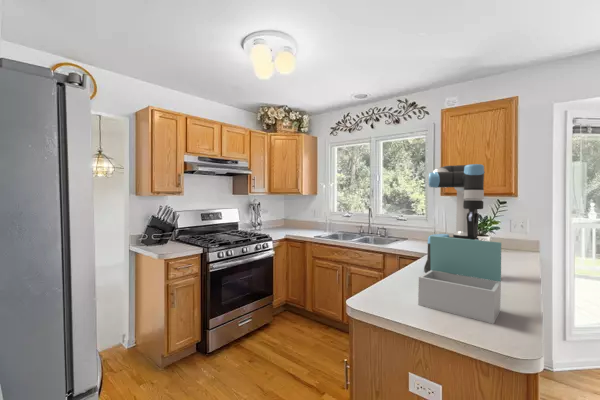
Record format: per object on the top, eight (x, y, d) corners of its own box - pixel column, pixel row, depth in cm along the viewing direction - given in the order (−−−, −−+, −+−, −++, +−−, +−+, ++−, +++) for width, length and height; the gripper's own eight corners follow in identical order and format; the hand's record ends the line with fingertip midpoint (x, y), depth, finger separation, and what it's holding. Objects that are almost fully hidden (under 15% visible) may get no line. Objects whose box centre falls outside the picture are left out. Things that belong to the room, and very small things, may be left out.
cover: (430, 269, 135) (432, 268, 137) (500, 281, 118) (501, 280, 119) (430, 236, 134) (431, 235, 135) (501, 243, 116) (501, 241, 117)
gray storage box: (430, 295, 136) (431, 270, 136) (500, 310, 118) (500, 282, 118) (418, 304, 124) (418, 277, 124) (493, 323, 106) (494, 291, 106)
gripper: (466, 200, 134) (465, 251, 134) (460, 199, 125) (458, 254, 125) (486, 200, 129) (484, 253, 129) (480, 199, 120) (479, 257, 120)
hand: (472, 254), depth 127 cm, fingers closed
